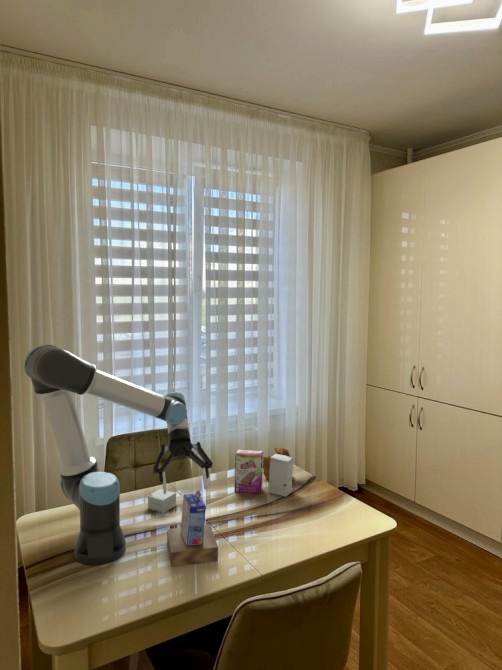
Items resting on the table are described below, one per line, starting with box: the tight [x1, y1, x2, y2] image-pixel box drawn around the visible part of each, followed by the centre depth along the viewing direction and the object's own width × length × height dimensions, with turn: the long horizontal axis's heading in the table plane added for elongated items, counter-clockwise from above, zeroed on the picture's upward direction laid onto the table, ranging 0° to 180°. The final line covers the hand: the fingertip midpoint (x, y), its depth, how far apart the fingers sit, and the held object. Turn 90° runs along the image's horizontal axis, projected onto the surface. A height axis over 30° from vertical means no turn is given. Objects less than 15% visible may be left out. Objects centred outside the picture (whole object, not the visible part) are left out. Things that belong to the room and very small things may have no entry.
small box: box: [147, 488, 177, 514], centre depth 177 cm, size 8×8×5 cm
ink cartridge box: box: [180, 489, 207, 546], centre depth 146 cm, size 10×6×14 cm, turn 19°
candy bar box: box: [234, 449, 264, 495], centre depth 192 cm, size 11×5×16 cm, turn 84°
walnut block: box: [166, 524, 219, 568], centre depth 147 cm, size 14×14×5 cm
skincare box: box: [267, 453, 295, 498], centre depth 191 cm, size 8×6×15 cm
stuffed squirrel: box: [263, 447, 295, 482], centre depth 206 cm, size 10×14×13 cm
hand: (185, 490), depth 156 cm, fingers open, 13 cm apart
